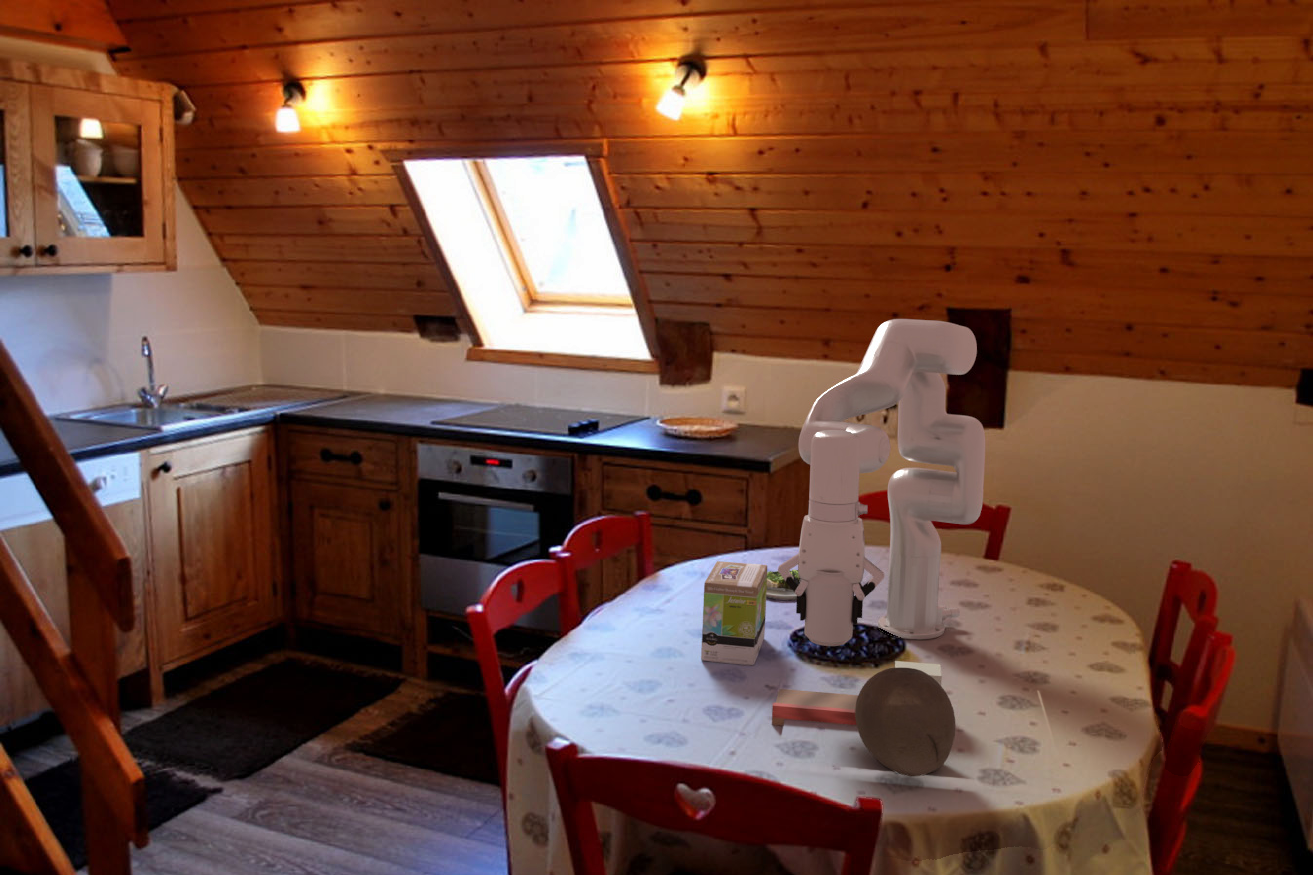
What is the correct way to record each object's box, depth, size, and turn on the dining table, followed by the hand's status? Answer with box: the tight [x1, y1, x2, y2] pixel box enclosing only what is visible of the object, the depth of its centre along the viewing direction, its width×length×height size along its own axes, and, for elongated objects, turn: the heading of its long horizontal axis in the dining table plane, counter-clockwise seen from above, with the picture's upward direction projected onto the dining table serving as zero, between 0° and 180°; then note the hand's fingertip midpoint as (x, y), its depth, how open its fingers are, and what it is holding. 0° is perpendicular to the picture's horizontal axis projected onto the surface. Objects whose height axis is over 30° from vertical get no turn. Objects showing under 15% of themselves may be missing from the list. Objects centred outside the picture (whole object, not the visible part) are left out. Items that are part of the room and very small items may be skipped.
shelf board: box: [771, 688, 859, 727], centre depth 194 cm, size 26×12×3 cm, turn 79°
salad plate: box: [766, 569, 806, 601], centre depth 259 cm, size 19×18×5 cm
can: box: [804, 571, 855, 647], centre depth 191 cm, size 8×8×12 cm
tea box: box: [700, 560, 768, 666], centre depth 222 cm, size 15×10×15 cm, turn 168°
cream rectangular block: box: [894, 660, 943, 686], centre depth 191 cm, size 7×5×8 cm
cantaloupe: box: [855, 667, 956, 778], centre depth 174 cm, size 14×14×15 cm
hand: (828, 619), depth 192 cm, fingers closed on can, 7 cm apart
